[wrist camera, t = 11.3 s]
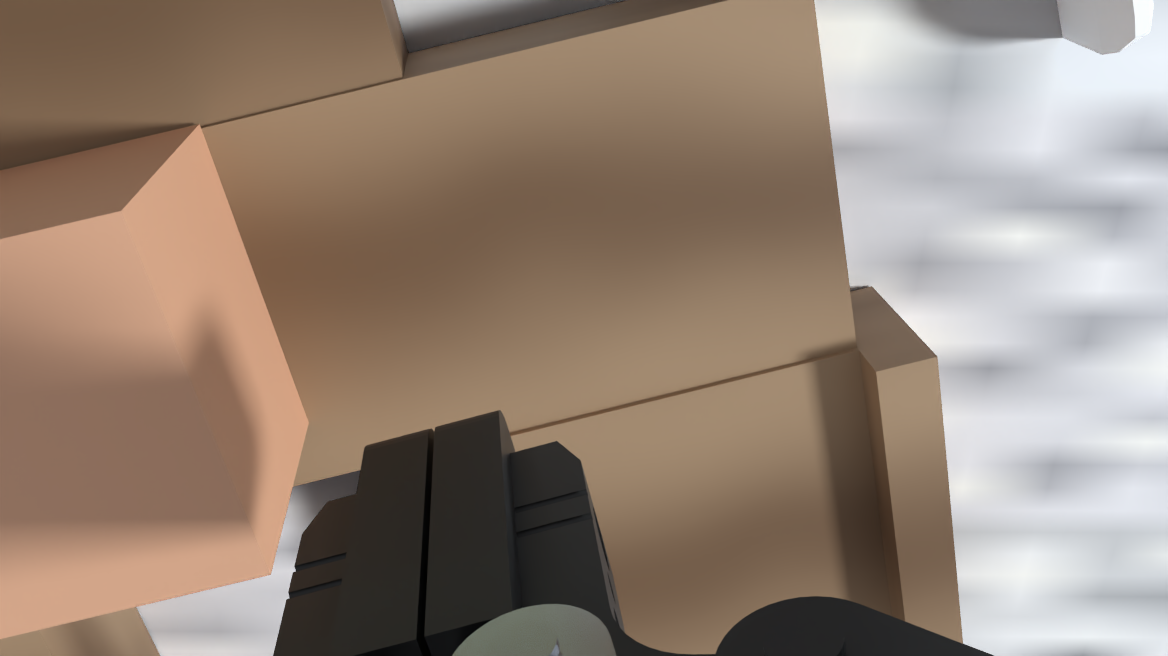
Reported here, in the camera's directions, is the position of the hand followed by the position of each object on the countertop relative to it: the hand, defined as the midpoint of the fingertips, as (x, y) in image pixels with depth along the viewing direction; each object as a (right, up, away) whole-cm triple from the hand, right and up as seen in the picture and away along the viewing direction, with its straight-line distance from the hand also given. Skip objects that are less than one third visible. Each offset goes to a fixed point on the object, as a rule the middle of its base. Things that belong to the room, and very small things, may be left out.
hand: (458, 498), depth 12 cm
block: (-6, +2, +5) cm, 8 cm away
